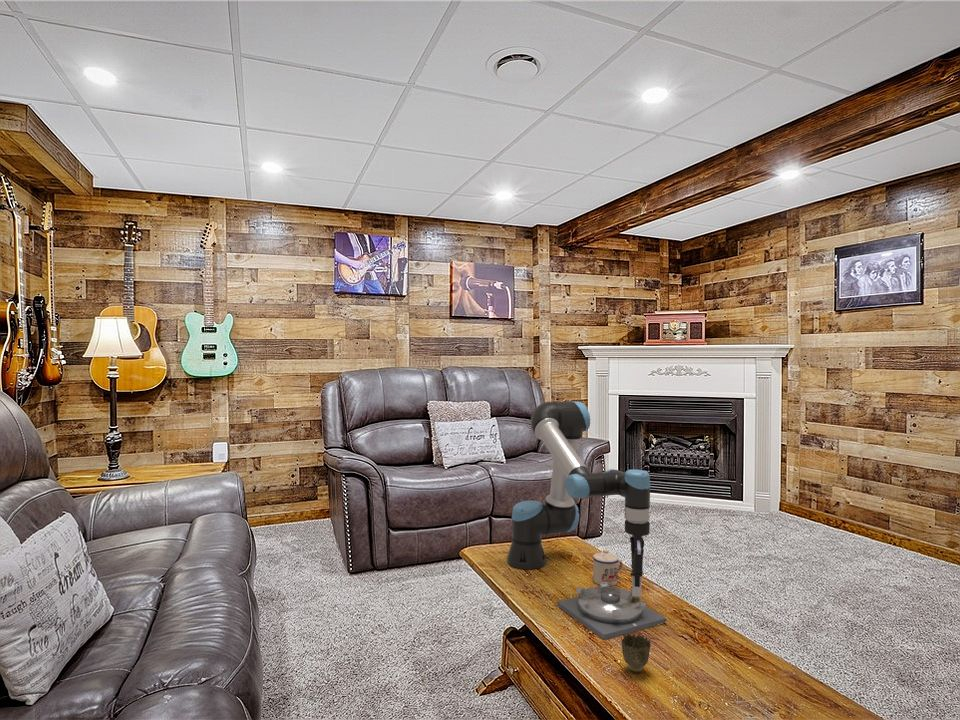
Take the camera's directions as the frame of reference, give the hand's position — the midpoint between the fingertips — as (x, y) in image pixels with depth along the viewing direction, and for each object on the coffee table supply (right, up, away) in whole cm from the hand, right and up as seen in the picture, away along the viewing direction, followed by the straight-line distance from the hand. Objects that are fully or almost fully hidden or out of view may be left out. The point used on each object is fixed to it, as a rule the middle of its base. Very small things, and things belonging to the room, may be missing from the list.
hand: (636, 595), depth 177 cm
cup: (-8, -8, -29) cm, 31 cm away
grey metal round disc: (-8, -5, +2) cm, 10 cm away
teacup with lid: (-2, -7, +28) cm, 29 cm away
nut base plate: (-8, -7, +2) cm, 11 cm away
